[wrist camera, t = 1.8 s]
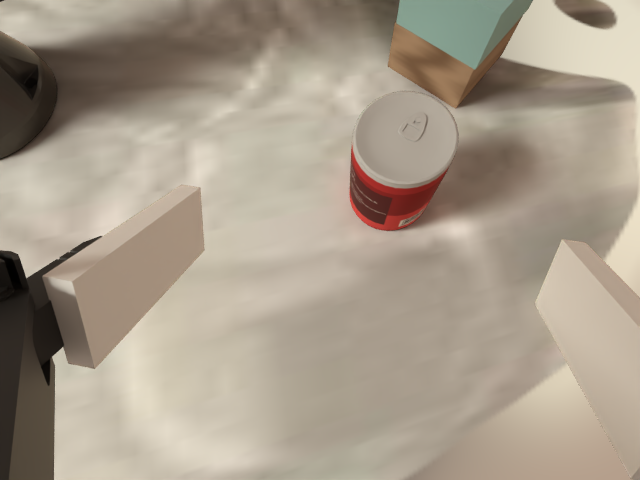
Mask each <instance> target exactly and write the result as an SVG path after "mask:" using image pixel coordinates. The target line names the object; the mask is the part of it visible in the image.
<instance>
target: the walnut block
mask: <svg viewBox="0 0 640 480" xmlns="http://www.w3.org/2000/svg"><path fill="white" fill-rule="evenodd" d="M522 16H523V15H522ZM521 18H522V17H521ZM521 18H520V19H521ZM520 19H519V20H518V21H517V22H516V23H515V25H514V26H513V27H512V28H511V29H510V30H509V32H508V33H507V34H506V35H505V36H504V37H503V38H502V40H501V41H500V42H499V43H498V44H497V45H496V47H495V48H494V49H493V50H492V51H491V52H490V53H489V55H488V56H487V57H486V58H485V59H484V60H483V62H482V63H481V64H480V65H479V66H478V67H477V68H476V70H474V69H473V68H471V67H469V66H468V65H466V64H464V63H463V62H461V61H459V60H458V59H456V58H454V57H452V56H451V55H449V54H447V53H446V52H444V51H442V50H441V49H439V48H437V47H436V46H434V45H432V44H431V43H429V42H427V41H425V40H424V39H422V38H420V37H419V36H417V35H415V34H414V33H412V32H410V31H409V30H407V29H405V28H404V27H402V26H400V25H398V24H397V23H396V22H395V25H394V31H393V37H392V43H391V49H390V56H389V62H388V67H390V68H391V69H393V70H394V71H396V72H398V73H399V74H401V75H403V76H404V77H406V78H407V79H409V80H411V81H412V82H414V83H415V84H417V85H419V86H420V87H422V88H423V89H425V90H427V91H428V92H430V93H431V94H433V95H435V96H436V97H438V98H439V99H441V100H443V101H444V102H446V103H447V104H449V105H451V106H452V107H454V108H455V109H456V108H457V106H458V105H459V104H460V103H461V102H462V101H463V99H464V98H465V97H466V96H467V95H468V94H469V92H470V91H471V90H472V89H473V88H474V86H475V85H476V84H477V83H478V82H479V81H480V79H481V78H482V77H483V76H484V75H485V74H486V72H487V71H488V70H489V69H490V68H491V66H492V65H493V64H494V63H495V62H496V61H497V59H498V58H499V57H500V56H501V55H502V53H503V51H504V50H505V48H506V46H507V44H508V42H509V40H510V38H511V36H512V34H513V33H514V31H515V29H516V27H517V25H518V23H519V21H520Z"/></svg>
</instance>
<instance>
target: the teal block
mask: <svg viewBox="0 0 640 480" xmlns="http://www.w3.org/2000/svg"><path fill="white" fill-rule="evenodd" d="M532 1H533V0H400V3H399V9H398V15H397V21H396V23H397V24H398V25H400V26H402V27H404V28H405V29H407V30H409V31H410V32H412V33H414V34H415V35H417V36H419V37H420V38H422V39H424V40H425V41H427V42H429V43H431V44H432V45H434V46H436V47H437V48H439V49H441V50H442V51H444V52H446V53H447V54H449V55H451V56H452V57H454V58H456V59H458V60H459V61H461V62H463V63H464V64H466V65H468V66H469V67H471V68H473V69H474V70H476V68H477V67H478V66H479V65H480V64H481V63H482V62H483V60H484V59H485V58H486V57H487V56H488V55H489V53H490V52H491V51H492V50H493V49H494V48H495V47H496V45H497V44H498V43H499V42H500V41H501V40H502V38H503V37H504V36H505V35H506V34H507V33H508V32H509V30H510V29H511V28H512V27H513V26H514V25H515V23H516V22H517V21H518V20H519V19H520V18H521V17H522V15H523V14H524V13H525V12H526V11H527V10H528V8H529V6H530V5H531V3H532Z"/></svg>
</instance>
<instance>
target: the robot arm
mask: <svg viewBox="0 0 640 480" xmlns="http://www.w3.org/2000/svg"><path fill="white" fill-rule="evenodd" d="M1 1H4V0H0V2H1ZM56 96H57V86H56V81H55V77H54V75H53V73H52V71H51V69H50V68H49V67H48V65H47V64H46V63H45V62H44V61H43V60H42V59H41V58H40V57H39V56H38V55H37V54H36V53H35V52H33V51H32V50H31V49H30V48H28V47H27V46H26V45H24V44H23V43H21V42H19V41H17V40H15V39H14V38H12V37H10V36H8V35H6V34H5V33H3V32H1V31H0V158H3V157H5V156H8V155H10V154H12V153H14V152H15V151H17V150H19V149H20V148H22V147H23V146H25V145H26V144H27V143H29V142H30V141H31V140H32V139H33V138H34V137H35V136H36V135H37V134H38V133H39V132H40V131H41V130H42V128H43V127H44V126H45V124H46V123H47V121H48V119H49V118H50V116H51V114H52V111H53V109H54V106H55V102H56ZM203 251H204V237H203V221H202V206H201V191H200V187H194V186H187V185H180V186H179V187H177V188H176V189H174V190H173V191H171V192H170V193H168V194H167V195H165V196H164V197H162V198H160V199H159V200H157V201H156V202H154V203H153V204H151V205H150V206H148V207H147V208H145V209H144V210H142V211H141V212H139V213H138V214H136V215H135V216H133V217H131V218H130V219H128V220H127V221H125V222H124V223H122V224H121V225H119V226H118V227H116V228H115V229H113V230H112V231H110V232H109V233H107V234H106V235H104V236H99V237H97V238H94V239H91V240H88V241H86V242H83V243H82V244H80V245H79V246H77V247H75V248H74V249H72V250H71V251H70V253H69V252H68V253H66V254H64V255H63V256H61V257H60V259H59V260H58V259H56V260H55V261H53V262H52V263H50V264H49V265H47V266H45V267H44V268H42V269H41V270H39V271H38V272H36V273H34V274H33V275H31V276H30V277H28V278H27V279H26V276H25V273H24V270H23V267H22V264H21V261H20V258H19V256H18V254H16V253H14V252H11V251H0V480H54V415H55V365H54V362H53V359H52V356H53V355H54V354H56V353H57V352H58V351H59V350H60V349H61V348H62V347H64V351H65V354H66V357H67V361H68V363H69V364H74V365H79V366H83V367H88V368H93V369H95V368H96V367H97V366H98V365H99V364H100V363H101V362H102V361H103V360H104V358H105V357H106V356H107V355H108V354H109V353H110V352H111V351H112V350H113V349H114V348H115V347H116V345H117V344H118V343H119V342H120V341H121V340H122V339H123V338H124V337H125V336H126V335H127V334H128V332H129V331H130V330H131V329H132V328H133V327H134V326H135V325H136V324H137V323H138V322H139V321H140V319H141V318H142V317H143V316H144V315H145V314H146V313H147V312H148V311H149V310H150V309H151V308H152V306H153V305H154V304H155V303H156V302H157V301H158V300H159V299H160V298H161V297H162V296H163V295H164V293H165V292H166V291H167V290H168V289H169V288H170V287H171V286H172V285H173V284H174V283H175V282H176V280H177V279H178V278H179V277H180V276H181V275H182V274H183V273H184V272H185V271H186V270H187V269H188V267H189V266H190V265H191V264H192V263H193V262H194V261H195V260H196V259H197V258H198V257H199V256H200V254H201V253H202V252H203ZM535 305H536V307H537V309H538V311H539V313H540V315H541V316H542V318H543V320H544V322H545V324H546V325H547V327H548V329H549V331H550V333H551V335H552V336H553V338H554V340H555V342H556V344H557V346H558V347H559V349H560V351H561V353H562V355H563V356H564V358H565V360H566V362H567V364H568V366H569V367H570V369H571V371H572V373H573V375H574V376H575V378H576V380H577V382H578V383H579V386H580V387H581V389H582V391H583V393H584V395H585V397H586V398H587V400H588V402H589V404H590V406H591V407H592V409H593V411H594V413H595V415H596V417H597V418H598V420H599V422H600V424H601V426H602V428H603V429H604V431H605V433H606V435H607V437H608V438H609V440H610V442H611V444H612V446H613V448H614V449H615V451H616V453H617V455H618V457H619V459H620V460H621V462H622V464H623V466H624V468H625V470H626V471H627V473H628V475H629V477H630V479H634V480H640V298H639V297H638V296H637V295H636V294H635V293H634V292H633V290H631V288H630V287H629V286H628V285H627V284H626V283H625V282H624V281H623V280H622V279H621V278H620V277H619V276H618V275H617V274H616V273H615V272H614V271H613V270H612V269H611V268H610V267H609V266H608V265H607V264H606V263H605V262H604V261H603V260H602V259H601V258H600V257H599V256H598V255H597V254H596V253H595V252H594V251H593V250H592V249H591V247H590V246H589V245H588V244H587V243H585V242H578V241H571V240H564V239H562V241H561V243H560V245H559V248H558V250H557V252H556V255H555V257H554V259H553V262H552V264H551V266H550V269H549V271H548V274H547V276H546V278H545V281H544V283H543V285H542V288H541V290H540V292H539V295H538V297H537V299H536V302H535Z"/></svg>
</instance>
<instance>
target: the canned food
mask: <svg viewBox="0 0 640 480" xmlns="http://www.w3.org/2000/svg"><path fill="white" fill-rule="evenodd" d="M458 136H459V133H458V128H457V124H456V122H455V119H454V117H453V115H452V114H451V113H450V111H449V110H448V108H446V107H445V106H444V105H443V104H442V103H441V102H440V101H438V100H437V99H435V98H433V97H431V96H429V95H426V94H424V93H419V92H415V91H399V92H393V93H390V94H386V95H384V96H382V97H380V98H378V99H376V100H374V101H373V102H372V103H371V104H369V105H368V106H367V107H366V108H365V109H364V110H363V112H362V113H361V115H360V116H359V118H358V120H357V122H356V125H355V128H354V132H353V138H352V149H351V171H350V202H351V205H352V208H353V210H354V211H355V213H356V215H357V216H358V217H359V218H360V219H361V220H362V221H363V222H364V223H366V224H367V225H369V226H371V227H373V228H375V229H379V230H387V231H390V230H397V229H401V228H404V227H406V226H408V225H410V224H412V223H413V222H414V221H416V220H417V219H418V218H419V217H420V215H421V214H422V213H423V212H424V210H425V208H426V206H427V205H428V203H429V201H430V200H431V198H432V196H433V194H434V193H435V191H436V189H437V188H438V186H439V184H440V182H441V181H442V179H443V177H444V176H445V174H446V172H447V170H448V168H449V166H450V165H451V163H452V161H453V159H454V156H455V153H456V150H457V146H458Z"/></svg>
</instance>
